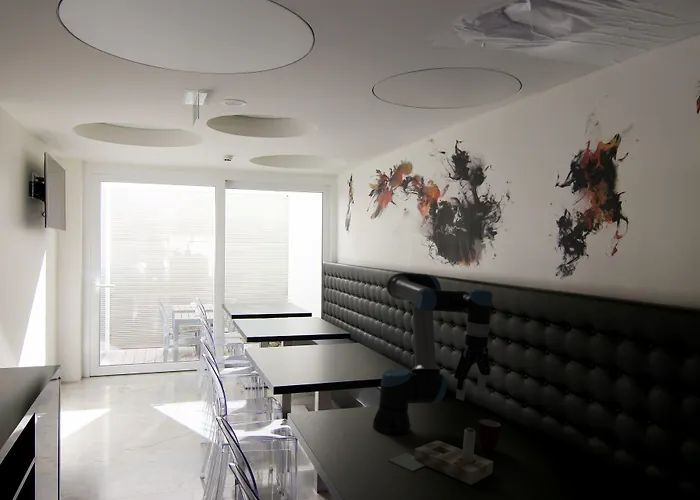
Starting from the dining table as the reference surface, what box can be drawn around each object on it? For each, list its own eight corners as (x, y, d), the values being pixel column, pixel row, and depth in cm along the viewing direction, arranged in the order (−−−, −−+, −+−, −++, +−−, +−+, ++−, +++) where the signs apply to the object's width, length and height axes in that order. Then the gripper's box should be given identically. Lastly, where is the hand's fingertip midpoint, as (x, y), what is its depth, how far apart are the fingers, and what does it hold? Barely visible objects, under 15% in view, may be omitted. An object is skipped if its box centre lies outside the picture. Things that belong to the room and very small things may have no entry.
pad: (388, 460, 170) (388, 459, 170) (405, 454, 177) (405, 452, 177) (412, 471, 163) (412, 470, 163) (429, 464, 170) (429, 462, 170)
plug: (458, 472, 166) (462, 428, 166) (464, 469, 169) (468, 426, 169) (468, 476, 163) (472, 431, 163) (473, 473, 166) (477, 429, 166)
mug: (498, 458, 181) (501, 430, 181) (476, 453, 183) (478, 426, 183) (498, 447, 191) (500, 421, 191) (476, 443, 193) (479, 418, 193)
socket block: (414, 460, 172) (415, 448, 172) (436, 451, 182) (437, 439, 182) (471, 485, 157) (472, 471, 157) (492, 473, 167) (493, 460, 167)
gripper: (467, 339, 160) (460, 405, 160) (504, 334, 178) (497, 393, 178) (447, 335, 165) (440, 398, 165) (485, 330, 183) (479, 387, 183)
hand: (470, 396), depth 172 cm, fingers open, 13 cm apart
